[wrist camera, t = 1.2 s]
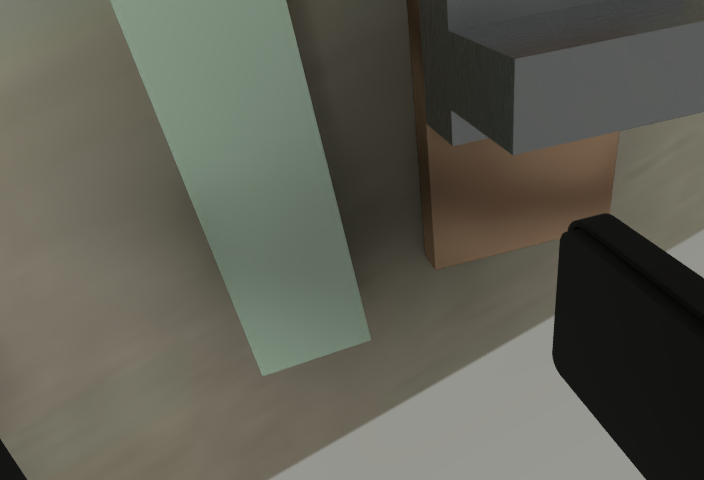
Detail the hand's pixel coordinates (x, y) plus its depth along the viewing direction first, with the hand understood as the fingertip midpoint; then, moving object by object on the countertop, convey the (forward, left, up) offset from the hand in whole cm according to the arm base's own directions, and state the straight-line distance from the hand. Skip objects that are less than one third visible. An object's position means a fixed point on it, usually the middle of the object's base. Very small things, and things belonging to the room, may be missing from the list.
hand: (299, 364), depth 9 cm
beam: (0, 0, -18) cm, 18 cm away
